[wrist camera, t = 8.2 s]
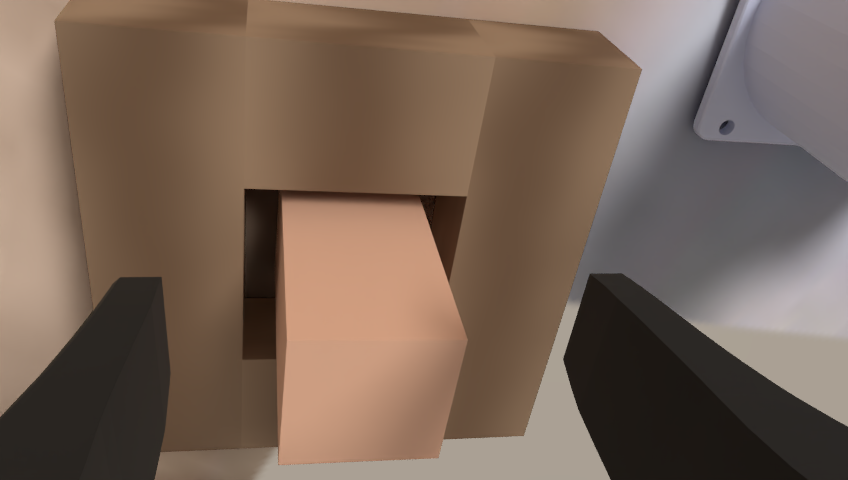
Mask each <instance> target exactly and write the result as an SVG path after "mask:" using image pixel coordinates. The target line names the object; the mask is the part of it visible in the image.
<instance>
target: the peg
mask: <svg viewBox="0 0 848 480" xmlns="http://www.w3.org/2000/svg"><path fill="white" fill-rule="evenodd" d="M275 306H276V361H277V416H278V465H289V464H312V463H336V462H358V461H382V460H403V459H404V460H405V459H426V458H427V459H428V458H438V457H439V454H440V449H441V446H442V442H443V438H444V434H445V430H446V426H447V422H448V418H449V414H450V410H451V406H452V402H453V398H454V394H455V390H456V386H457V382H458V378H459V374H460V370H461V366H462V362H463V358H464V354H465V350H466V346H467V342H468V339H467V336H466V333H465V330H464V327H463V324H462V321H461V318H460V315H459V312H458V309H457V306H456V303H455V300H454V297H453V294H452V292H451V289H450V286H449V283H448V280H447V277H446V274H445V271H444V268H443V265H442V262H441V259H440V256H439V253H438V250H437V247H436V244H435V241H434V238H433V235H432V232H431V229H430V226H429V223H428V220H427V217H426V214H425V212H424V209H423V206H422V203H421V200H420V197H419V195H412V194H384V193H356V192H328V191H299V190H279V200H278V219H277V237H276V256H275Z"/></svg>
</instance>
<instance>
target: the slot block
mask: <svg viewBox="0 0 848 480" xmlns="http://www.w3.org/2000/svg"><path fill="white" fill-rule="evenodd" d="M55 29H56V36H57V44H58V51H59V58H60V66H61V73H62V81H63V88H64V96H65V103H66V110H67V118H68V125H69V133H70V140H71V148H72V155H73V162H74V170H75V177H76V185H77V192H78V200H79V207H80V214H81V222H82V229H83V237H84V244H85V252H86V259H87V266H88V274H89V281H90V289H91V296H92V304H93V310H94V309H95V307H96V306H97V305H98V303H99V302H100V301H101V299H102V298H103V297H104V295H105V294H106V292H107V291H108V290H109V288H110V287H111V285H112V284H113V283H114V282H115V281H116V280H117V279H119V278H120V277H162V286H163V297H164V307H165V318H166V329H167V339H168V350H169V361H170V371H171V375H170V385H169V396H168V407H167V416H166V426H165V433H164V438H163V442H162V447H161V452H171V451H194V450H216V449H238V448H261V447H278V416H277V361H276V306H275V298H245V220H246V189H271V190H299V191H328V192H356V193H384V194H412V195H437V196H436V201H435V207H434V212H433V218H432V224H431V232H432V235H433V238H434V241H435V244H436V247H437V250H438V253H439V256H440V259H441V262H442V265H443V268H444V271H445V274H446V277H447V280H448V283H449V286H450V289H451V292H452V294H453V297H454V300H455V303H456V306H457V309H458V312H459V315H460V318H461V321H462V324H463V327H464V330H465V333H466V336H467V339H468V342H467V346H466V350H465V354H464V358H463V362H462V366H461V370H460V374H459V378H458V382H457V386H456V390H455V394H454V398H453V402H452V406H451V410H450V414H449V418H448V422H447V426H446V430H445V434H444V438H443V439H462V438H485V437H508V436H524V433H525V430H526V427H527V424H528V421H529V418H530V415H531V411H532V408H533V405H534V402H535V399H536V396H537V393H538V390H539V387H540V384H541V381H542V377H543V374H544V371H545V368H546V365H547V362H548V359H549V356H550V353H551V349H552V346H553V343H554V340H555V337H556V334H557V331H558V328H559V325H560V322H561V319H562V315H563V312H564V309H565V306H566V303H567V300H568V297H569V294H570V291H571V288H572V284H573V281H574V278H575V275H576V272H577V269H578V266H579V263H580V260H581V257H582V253H583V250H584V247H585V244H586V241H587V238H588V235H589V232H590V229H591V226H592V223H593V219H594V216H595V213H596V210H597V207H598V204H599V201H600V198H601V195H602V192H603V188H604V185H605V182H606V179H607V176H608V173H609V170H610V167H611V164H612V161H613V157H614V154H615V151H616V148H617V145H618V142H619V139H620V136H621V133H622V130H623V126H624V123H625V120H626V117H627V114H628V111H629V108H630V105H631V102H632V99H633V95H634V92H635V89H636V86H637V83H638V80H639V77H640V74H641V71H642V69H641V68H640V67H639V66H638V65H637V64H635V63H634V62H633V61H632V60H631V59H630V58H628V57H627V56H626V55H625V54H624V53H623V52H622V51H620V50H619V49H618V48H617V47H616V46H615V45H614V44H612V43H611V42H610V41H609V40H608V39H607V38H606V37H604V36H603V35H602V34H601V33H600V32H598V31H588V30H577V29H566V28H556V27H545V26H535V25H524V24H513V23H503V22H492V21H481V20H471V19H460V18H450V17H439V16H428V15H418V14H407V13H396V12H386V11H375V10H365V9H354V8H343V7H333V6H322V5H312V4H301V3H290V2H280V1H269V0H70V1H69V2H68V3H67V5H66V6H65V7H64V9H63V10H62V11H61V13H60V14H59V15H58V17H57V18H56V19H55Z"/></svg>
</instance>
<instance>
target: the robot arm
mask: <svg viewBox="0 0 848 480" xmlns="http://www.w3.org/2000/svg"><path fill="white" fill-rule="evenodd" d="M727 120H728V123H727V125H726V126H725V127H724V128H722V129H719V128H720V126H721V124H722V123H723V122H725V121H727ZM693 128H694V132H695V133H696V134H697V135H698V136H700V137H701V138H702V139H704V140H712V141H729V142H746V143H763V144H780V145H797V146H800V147H801V148H803V149H804V150H805V151H807V152H808V153H809V154H811V155H812V156H813V157H815V158H816V159H817V160H819V161H820V162H821V163H823V164H824V165H825V166H826V167H828V168H829V169H830V170H832V171H833V172H834V173H836V174H837V175H838V176H840V177H841V178H842V179H844V180H845V181H846V182H848V0H740V2H739V4H738V7H737V9H736V12H735V15H734V17H733V20H732V23H731V25H730V28H729V31H728V33H727V36H726V38H725V41H724V44H723V46H722V49H721V52H720V54H719V57H718V60H717V62H716V65H715V67H714V70H713V73H712V75H711V78H710V81H709V83H708V86H707V89H706V91H705V94H704V96H703V99H702V102H701V104H700V107H699V110H698V112H697V115H696V118H695V120H694V125H693ZM563 360H564V364H565V367H566V371H567V374H568V378H569V381H570V385H571V388H572V391H573V394H574V397H575V400H576V403H577V406H578V410H579V411H580V414H581V416H582V418H583V421H584V423H585V425H586V427H587V429H588V432H589V434H590V436H591V438H592V441H593V443H594V445H595V447H596V449H597V451H598V453H599V456H600V458H601V460H602V462H603V464H604V466H605V468H606V470H607V472H608V475H609V477H610V479H611V480H848V427H847V426H845V425H844V424H842V423H840V422H838V421H836V420H835V419H833V418H831V417H829V416H828V415H826V414H824V413H822V412H821V411H819V410H817V409H816V408H814V407H812V406H810V405H808V404H807V403H805V402H804V401H802V400H800V399H799V398H797V397H795V396H794V395H792V394H790V393H789V392H787V391H786V390H784V389H782V388H781V387H779V386H778V385H776V384H775V383H773V382H772V381H770V380H768V379H767V378H766V377H764V376H763V375H761V374H760V373H758V372H757V371H755V370H754V369H752V368H751V367H749V366H748V365H746V364H745V363H743V362H742V361H741V360H739V359H738V358H736V357H735V356H733V355H732V354H730V353H729V352H727V351H726V350H725V349H724V348H722V347H721V346H719V345H718V344H717V343H715V342H714V341H713V340H711V339H710V338H709V337H707V336H706V335H704V334H703V333H702V332H701V331H699V330H698V329H697V328H695V327H694V326H693V325H691V324H690V323H689V322H687V321H686V320H685V319H683V318H682V317H681V316H679V315H678V314H677V313H675V312H674V311H673V310H671V309H670V308H669V307H667V306H666V305H665V304H664V303H662V302H661V301H660V300H658V299H657V298H656V297H654V296H653V295H652V294H650V293H649V292H648V291H646V290H645V289H643V288H642V287H641V286H639V285H638V284H636V283H635V282H634V281H632V280H631V279H629V278H628V277H626V276H625V275H623V274H590V275H589V278H588V281H587V285H586V288H585V291H584V294H583V298H582V301H581V304H580V307H579V311H578V314H577V317H576V320H575V323H574V327H573V330H572V333H571V336H570V339H569V343H568V346H567V349H566V352H565V355H564V359H563ZM170 375H171V371H170V361H169V350H168V339H167V329H166V318H165V307H164V297H163V286H162V277H120V278H119V279H117V280H116V281H115V282H114V283H113V284H112V285H111V287H110V288H109V290H108V291H107V292H106V294H105V295H104V297H103V298H102V299H101V301H100V302H99V303H98V305H97V306H96V307H95V309H94V310H93V311H92V313H91V314H90V315H89V317H88V318H87V319H86V321H85V322H84V323H83V324H82V326H81V327H80V328H79V329H78V331H77V332H76V333H75V335H74V336H73V337H72V338H71V339H70V341H69V342H68V343H67V344H66V345H65V346H64V348H63V349H62V350H61V351H60V352H59V354H58V355H57V356H56V357H55V358H54V360H53V361H52V362H51V363H50V364H49V365H48V367H47V368H46V369H45V370H44V371H43V372H42V373H41V375H40V376H39V377H38V378H37V379H36V380H35V381H34V382H33V383H32V384H31V385H30V386H29V387H28V388H27V390H26V391H25V392H24V393H23V394H22V395H21V396H20V397H19V398H18V399H17V400H16V401H15V402H14V403H13V404H12V405H11V406H10V407H9V409H8V410H7V411H6V412H5V413H4V414H3V415H2V416H1V417H0V480H154V479H155V474H156V470H157V465H158V461H159V456H160V452H161V447H162V442H163V438H164V433H165V426H166V416H167V407H168V396H169V385H170Z"/></svg>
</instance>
